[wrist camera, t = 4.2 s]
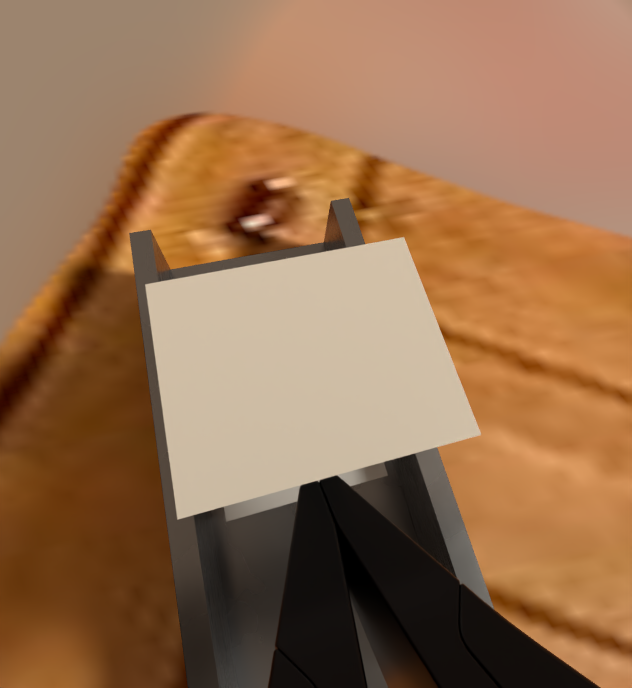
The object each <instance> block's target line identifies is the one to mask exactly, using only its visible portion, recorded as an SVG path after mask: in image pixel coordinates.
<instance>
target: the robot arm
mask: <svg viewBox="0 0 632 688" xmlns="http://www.w3.org/2000/svg"><path fill="white" fill-rule="evenodd" d="M351 600H352V603H353V605H354V607H355V610H356V612H357V615H358V617H359V619H360V622H361V624H362V626H363V629H364V631H365V634H366V636H367V638H368V641H369V643H370V645H371V648H372V650H373V653H374V655H375V657H376V660H377V662H378V665H379V667H380V669H381V672H382V674H383V676H384V679H385V681H386V684H387V686H388V688H600V687H599V686H597V685H596V684H595V683H593V682H592V681H590V680H589V679H588V678H586V677H585V676H583V675H582V674H581V673H579V672H578V671H576V670H575V669H573V668H572V667H571V666H569V665H568V664H566V663H565V662H564V661H562V660H561V659H559V658H558V657H557V656H555V655H554V654H552V653H551V652H550V651H548V650H547V649H545V648H544V647H543V646H541V645H540V644H538V643H537V642H536V641H534V640H533V639H532V638H530V637H529V636H528V635H526V634H525V633H524V632H522V631H521V630H520V629H518V628H517V627H516V626H514V625H513V624H511V623H510V622H509V621H508V620H506V619H505V618H504V617H503V616H501V615H500V614H499V613H498V612H497V611H495V610H494V609H493V608H492V607H490V606H489V605H488V604H487V603H486V602H484V601H483V600H482V599H481V598H480V597H478V596H477V595H476V594H475V593H474V592H473V591H471V590H470V589H469V588H468V587H467V586H466V585H465V584H461V585H460V581H459V580H458V579H457V578H456V577H455V576H454V575H453V574H452V573H450V572H449V571H448V570H447V569H446V568H445V567H443V566H442V565H441V564H440V563H439V562H438V561H436V560H435V559H434V558H433V557H432V556H431V555H429V554H428V553H427V552H426V551H425V550H424V549H423V548H421V547H420V546H419V545H418V544H417V543H416V542H414V541H413V540H412V539H411V538H410V537H409V536H407V535H406V534H405V533H404V532H403V531H402V530H400V529H399V528H398V527H397V526H396V525H395V524H394V523H392V522H391V521H390V520H389V519H388V518H387V517H385V516H384V515H383V514H382V513H381V512H380V511H378V510H377V509H376V508H375V507H374V506H373V505H371V504H370V503H369V502H368V501H367V500H366V499H365V498H363V497H362V496H361V495H360V494H359V493H358V492H356V491H355V490H354V489H353V488H352V487H351V486H349V485H348V484H347V483H346V482H345V481H344V480H342V479H341V478H340V477H339V476H337V475H335V476H332V477H328V478H325V479H321V480H320V481H319V482H318V481H314V482H310V483H307V484H303V485H301V486H300V488H299V494H298V500H297V507H296V513H295V519H294V526H293V532H292V539H291V545H290V551H289V558H288V564H287V570H286V577H285V583H284V590H283V596H282V602H281V609H280V615H279V621H278V628H277V634H276V641H275V650H274V652H273V658H272V664H271V671H270V677H269V682H268V688H368V686H367V681H366V676H365V671H364V665H363V660H362V655H361V650H360V645H359V640H358V634H357V629H356V624H355V619H354V614H353V609H352V604H351Z"/></svg>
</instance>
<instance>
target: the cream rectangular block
mask: <svg viewBox="0 0 632 688" xmlns="http://www.w3.org/2000/svg"><path fill="white" fill-rule="evenodd" d="M145 287H146V294H147V301H148V308H149V316H150V323H151V330H152V338H153V345H154V352H155V359H156V367H157V374H158V381H159V389H160V396H161V403H162V410H163V418H164V425H165V432H166V439H167V447H168V454H169V461H170V469H171V476H172V483H173V490H174V498H175V505H176V512H177V520H178V519H181V518H185V517H189V516H192V515H196V514H199V513H203V512H207V511H210V510H214V509H217V508H221V507H224V511H225V517H226V522H227V521H231V520H234V519H238V518H241V517H245V516H248V515H252V514H255V513H259V512H262V511H265V510H269V509H272V508H276V507H279V506H283V505H286V504H290V503H293V502H297V500H298V494H299V488H300V486H301V485H303V484H307V483H310V482H314V481H318V482H319V481H320V480H321V479H325V478H328V477H332V476H335V475H337V476H339V477H340V478H341V479H342V480H344V481H345V482H346V483H347V484H348V485H349V486H353V485H356V484H360V483H363V482H367V481H370V480H374V479H377V478H381V477H384V476H388V474H387V471H386V468H385V464H384V462H385V461H389V460H393V459H396V458H400V457H403V456H407V455H411V454H414V453H418V452H421V451H425V450H428V449H432V448H436V447H439V446H443V445H446V444H450V443H453V442H457V441H461V440H464V439H468V438H471V437H475V436H479V435H481V433H480V430H479V428H478V425H477V423H476V420H475V417H474V415H473V412H472V410H471V407H470V405H469V402H468V400H467V397H466V395H465V392H464V389H463V387H462V384H461V382H460V379H459V377H458V374H457V372H456V369H455V367H454V364H453V361H452V359H451V356H450V354H449V351H448V349H447V346H446V344H445V341H444V338H443V336H442V333H441V331H440V328H439V326H438V323H437V321H436V318H435V316H434V313H433V310H432V308H431V305H430V303H429V300H428V298H427V295H426V293H425V290H424V288H423V285H422V282H421V280H420V277H419V275H418V272H417V270H416V267H415V265H414V262H413V260H412V257H411V254H410V252H409V249H408V247H407V244H406V242H405V239H404V237H403V238H398V239H392V240H387V241H381V242H376V243H370V244H365V245H359V246H354V247H348V248H343V249H337V250H332V251H326V252H321V253H315V254H310V255H304V256H299V257H293V258H288V259H282V260H277V261H271V262H266V263H260V264H255V265H249V266H244V267H238V268H233V269H227V270H222V271H216V272H211V273H205V274H200V275H194V276H189V277H183V278H178V279H172V280H167V281H161V282H156V283H150V284H145Z"/></svg>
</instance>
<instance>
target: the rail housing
mask: <svg viewBox="0 0 632 688" xmlns="http://www.w3.org/2000/svg"><path fill="white" fill-rule="evenodd" d="M129 234H130V241H131V249H132V257H133V265H134V272H135V280H136V288H137V296H138V303H139V311H140V319H141V327H142V334H143V342H144V350H145V358H146V365H147V373H148V381H149V389H150V396H151V404H152V412H153V420H154V428H155V435H156V443H157V451H158V459H159V466H160V474H161V482H162V490H163V497H164V505H165V513H166V521H167V528H168V536H169V544H170V552H171V559H172V567H173V575H174V583H175V590H176V598H177V606H178V614H179V621H180V629H181V637H182V645H183V652H184V660H185V668H186V676H187V683H188V688H268V682H269V677H270V671H271V664H272V658H273V652H274V650H275V641H276V634H277V628H278V621H279V615H280V609H281V602H282V596H283V590H284V583H285V577H286V570H287V564H288V558H289V551H290V545H291V539H292V532H293V526H294V519H295V513H296V507H297V502H293V503H290V504H286V505H283V506H279V507H276V508H272V509H269V510H265V511H262V512H259V513H255V514H252V515H248V516H245V517H241V518H238V519H234V520H231V521H227V522H226V517H225V511H224V507H221V508H217V509H214V510H210V511H207V512H203V513H199V514H196V515H192V516H189V517H185V518H181V519H178V520H177V512H176V505H175V498H174V490H173V483H172V476H171V469H170V461H169V454H168V447H167V439H166V432H165V425H164V418H163V410H162V403H161V396H160V389H159V381H158V374H157V367H156V359H155V352H154V345H153V338H152V330H151V323H150V316H149V308H148V301H147V294H146V287H145V284H150V283H156V282H161V281H167V280H172V279H178V278H183V277H189V276H194V275H200V274H205V273H211V272H216V271H222V270H227V269H233V268H238V267H244V266H249V265H255V264H260V263H266V262H271V261H277V260H282V259H288V258H293V257H299V256H304V255H310V254H315V253H321V252H326V251H332V250H337V249H343V248H348V247H354V246H359V245H365V242H364V239H363V236H362V234H361V231H360V228H359V225H358V222H357V219H356V217H355V214H354V211H353V208H352V205H351V203H350V200H349V198H346V199H340V200H334V201H331V204H330V209H329V215H328V221H327V227H326V233H325V239H324V242H323V243H318V244H312V245H307V246H301V247H295V248H290V249H284V250H278V251H273V252H267V253H262V254H256V255H250V256H245V257H239V258H234V259H228V260H222V261H217V262H211V263H205V264H200V265H194V266H189V267H183V268H177V269H172V270H170V268H169V266H168V264H167V262H166V260H165V258H164V256H163V254H162V252H161V250H160V248H159V246H158V244H157V242H156V240H155V238H154V236H153V234H152V232H151V230H147V231H140V232H134V233H129ZM384 464H385V468H386V471H387V474H388V476H384V477H381V478H377V479H374V480H370V481H367V482H363V483H360V484H356V485H353V486H351V487H352V488H353V489H354V490H355V491H356V492H358V493H359V494H360V495H361V496H362V497H363V498H365V499H366V500H367V501H368V502H369V503H370V504H371V505H373V506H374V507H375V508H376V509H377V510H378V511H380V512H381V513H382V514H383V515H384V516H385V517H387V518H388V519H389V520H390V521H391V522H392V523H394V524H395V525H396V526H397V527H398V528H399V529H400V530H402V531H403V532H404V533H405V534H406V535H407V536H409V537H410V538H411V539H412V540H413V541H414V542H416V543H417V544H418V545H419V546H420V547H421V548H423V549H424V550H425V551H426V552H427V553H428V554H429V555H431V556H432V557H433V558H434V559H435V560H436V561H438V562H439V563H440V564H441V565H442V566H443V567H445V568H446V569H447V570H448V571H449V572H450V573H452V574H453V575H454V576H455V577H456V578H457V579H458V580H459V581H460V585H461V584H465V585H466V586H467V587H468V588H469V589H470V590H471V591H473V592H474V593H475V594H476V595H477V596H478V597H480V598H481V599H482V600H483V601H484V602H486V603H487V604H488V605H489V606H490V607H492V608H493V609H494V607H493V605H492V602H491V599H490V596H489V593H488V590H487V588H486V585H485V582H484V579H483V576H482V573H481V571H480V568H479V565H478V562H477V559H476V556H475V554H474V551H473V548H472V545H471V542H470V539H469V537H468V534H467V531H466V528H465V525H464V522H463V520H462V517H461V514H460V511H459V508H458V505H457V503H456V500H455V497H454V494H453V491H452V489H451V486H450V483H449V480H448V477H447V474H446V472H445V469H444V466H443V463H442V460H441V457H440V455H439V452H438V449H437V447H436V448H432V449H428V450H425V451H421V452H418V453H414V454H411V455H407V456H403V457H400V458H396V459H393V460H389V461H385V462H384ZM351 604H352V609H353V614H354V619H355V624H356V629H357V634H358V640H359V645H360V650H361V655H362V660H363V665H364V671H365V676H366V681H367V686H368V688H388V686H387V684H386V681H385V679H384V676H383V674H382V672H381V669H380V667H379V665H378V662H377V660H376V657H375V655H374V653H373V650H372V648H371V645H370V643H369V641H368V638H367V636H366V634H365V631H364V629H363V626H362V624H361V622H360V619H359V617H358V615H357V612H356V610H355V607H354V605H353V603H352V600H351Z"/></svg>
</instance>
